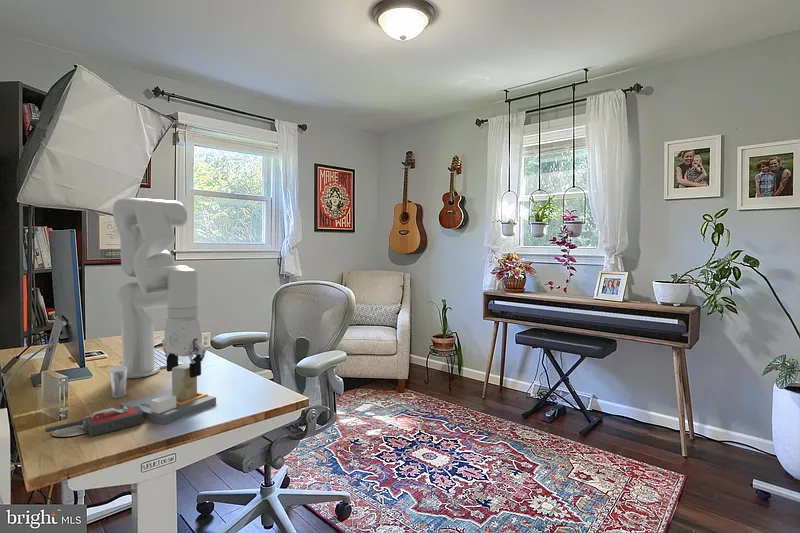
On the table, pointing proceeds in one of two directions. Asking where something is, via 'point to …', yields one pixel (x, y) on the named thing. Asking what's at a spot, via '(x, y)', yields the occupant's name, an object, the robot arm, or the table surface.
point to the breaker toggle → (163, 403)
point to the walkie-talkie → (106, 420)
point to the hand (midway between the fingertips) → (183, 373)
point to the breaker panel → (172, 414)
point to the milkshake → (118, 380)
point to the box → (183, 383)
